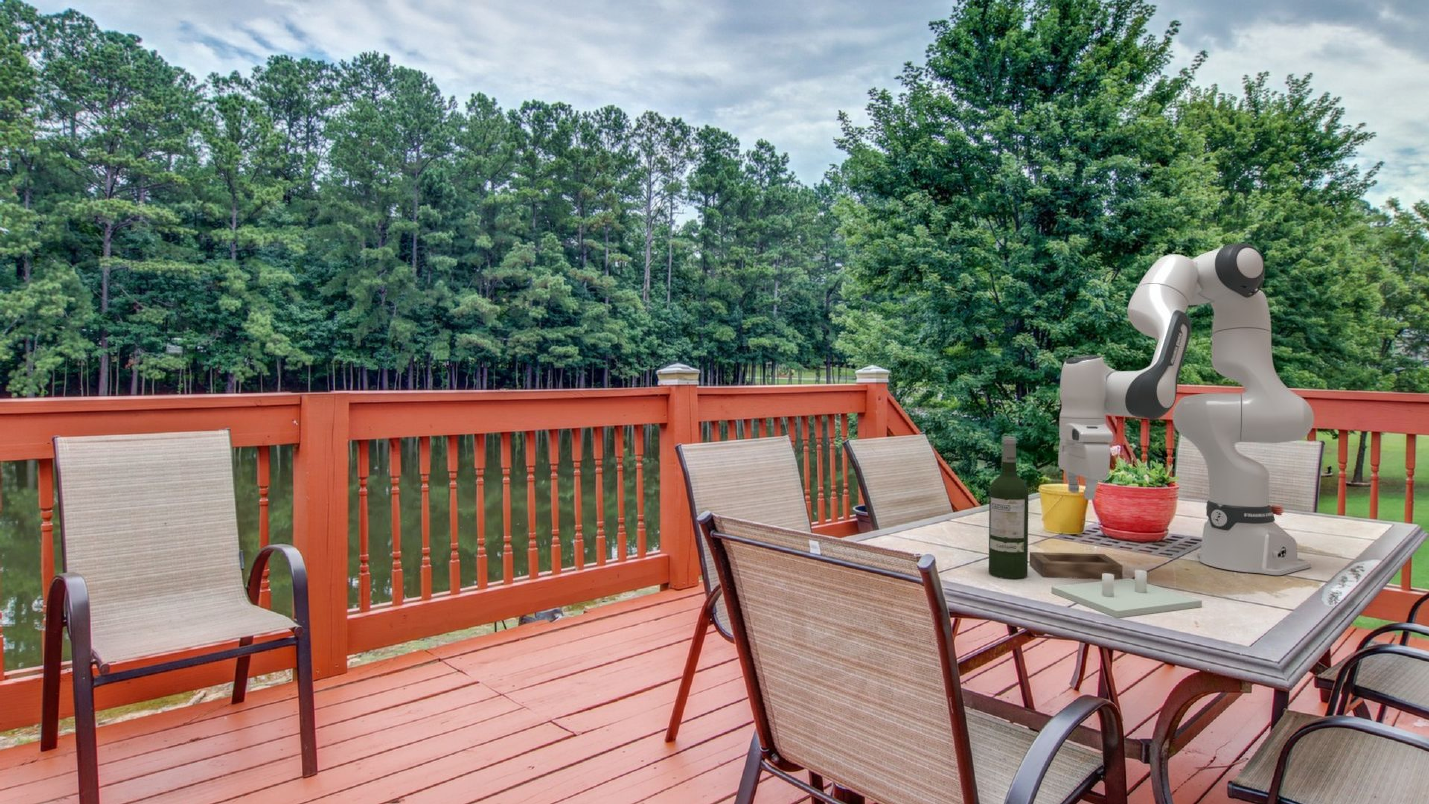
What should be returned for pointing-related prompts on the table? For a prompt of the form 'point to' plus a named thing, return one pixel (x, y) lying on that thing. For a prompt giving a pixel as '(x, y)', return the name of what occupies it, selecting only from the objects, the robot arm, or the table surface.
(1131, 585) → the board
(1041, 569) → the frame
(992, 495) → the wine bottle
